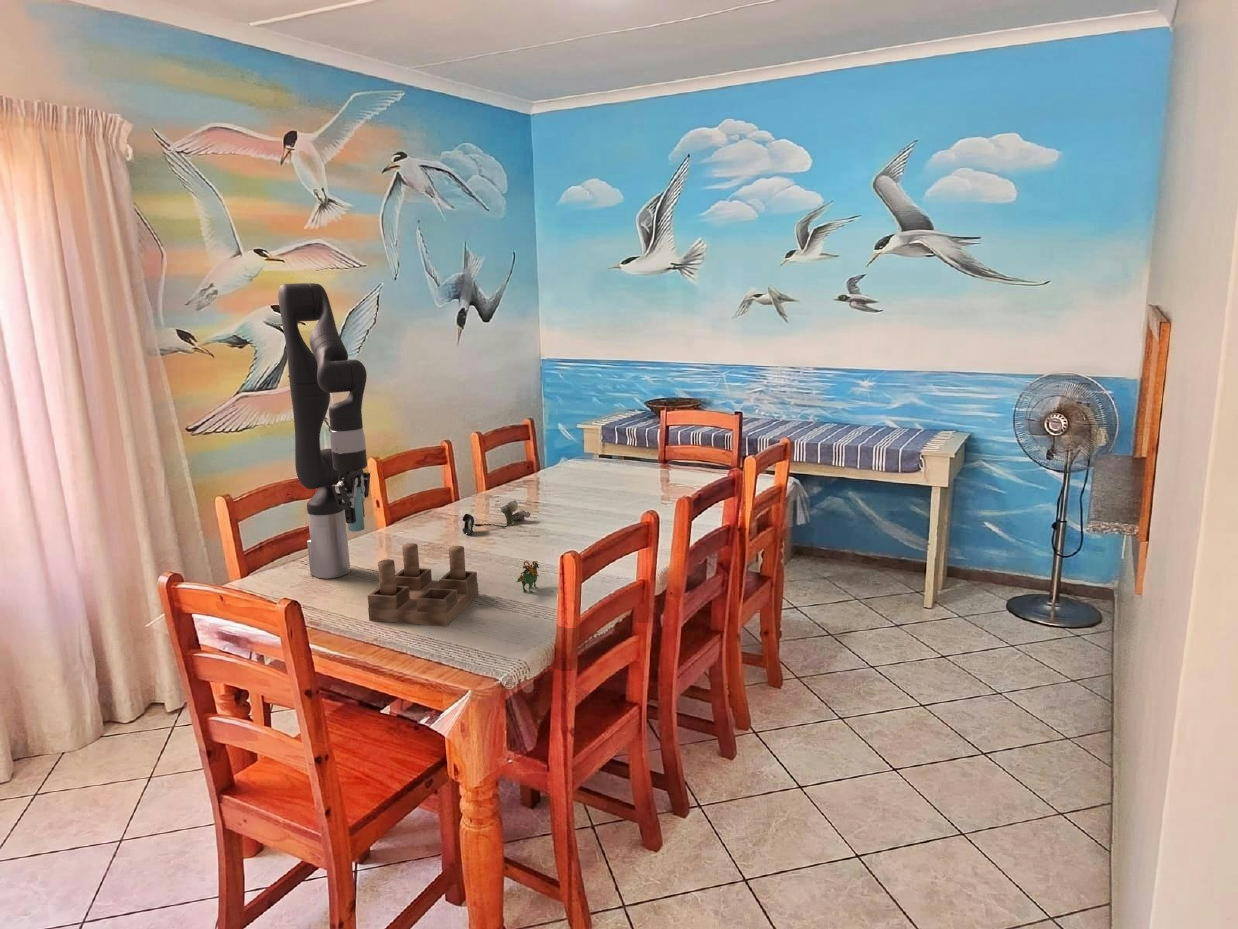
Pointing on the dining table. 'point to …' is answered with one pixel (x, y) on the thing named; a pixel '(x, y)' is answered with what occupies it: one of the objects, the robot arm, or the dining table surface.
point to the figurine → (529, 575)
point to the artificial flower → (506, 510)
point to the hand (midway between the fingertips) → (355, 520)
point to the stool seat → (422, 590)
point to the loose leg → (357, 512)
